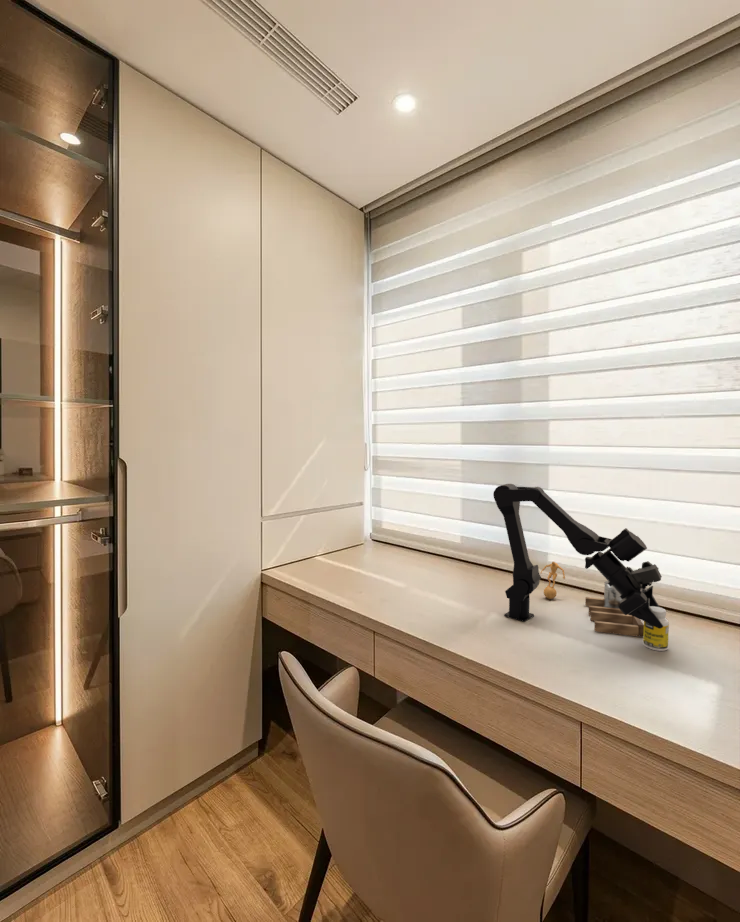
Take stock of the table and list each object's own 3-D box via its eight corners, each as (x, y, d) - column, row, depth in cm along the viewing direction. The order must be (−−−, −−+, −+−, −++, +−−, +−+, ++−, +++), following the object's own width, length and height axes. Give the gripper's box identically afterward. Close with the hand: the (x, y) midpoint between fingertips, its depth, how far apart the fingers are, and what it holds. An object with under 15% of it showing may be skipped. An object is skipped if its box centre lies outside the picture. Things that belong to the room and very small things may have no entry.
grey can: (618, 617, 137) (619, 587, 137) (601, 612, 141) (602, 583, 140) (623, 612, 141) (624, 583, 140) (607, 608, 144) (607, 579, 144)
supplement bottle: (640, 646, 118) (641, 608, 118) (646, 640, 122) (647, 603, 121) (664, 653, 114) (666, 614, 114) (670, 646, 118) (671, 608, 118)
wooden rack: (595, 631, 127) (595, 619, 127) (585, 604, 147) (585, 594, 147) (643, 637, 124) (643, 625, 124) (626, 609, 144) (627, 598, 143)
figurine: (535, 596, 154) (535, 561, 154) (543, 592, 159) (544, 557, 158) (559, 603, 148) (560, 566, 148) (567, 599, 152) (568, 562, 152)
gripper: (636, 561, 111) (690, 617, 106) (643, 546, 127) (691, 594, 121) (599, 587, 116) (649, 642, 111) (610, 570, 132) (655, 617, 126)
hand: (662, 622), depth 117 cm, fingers open, 7 cm apart
